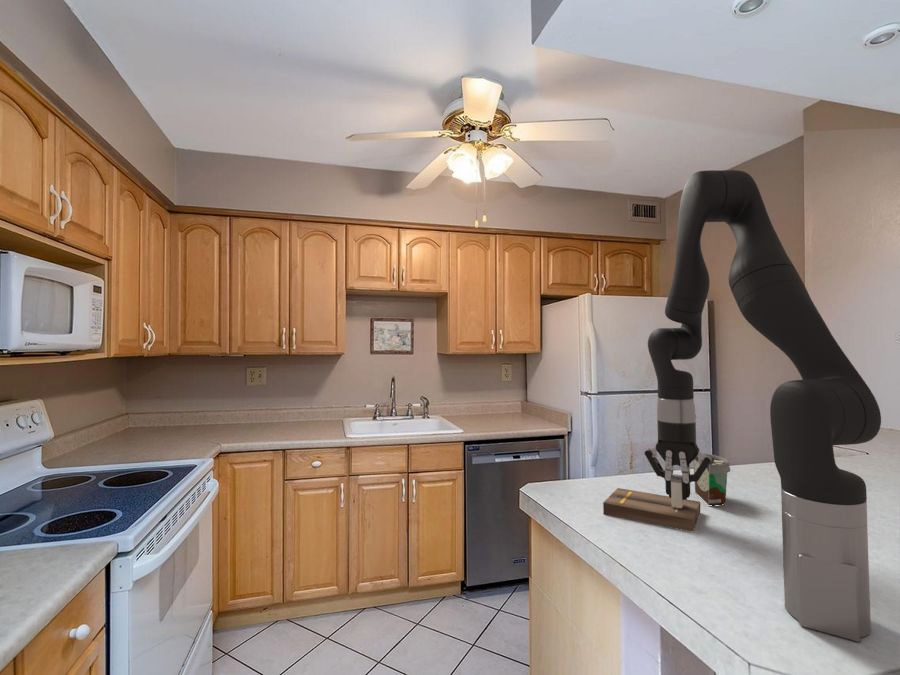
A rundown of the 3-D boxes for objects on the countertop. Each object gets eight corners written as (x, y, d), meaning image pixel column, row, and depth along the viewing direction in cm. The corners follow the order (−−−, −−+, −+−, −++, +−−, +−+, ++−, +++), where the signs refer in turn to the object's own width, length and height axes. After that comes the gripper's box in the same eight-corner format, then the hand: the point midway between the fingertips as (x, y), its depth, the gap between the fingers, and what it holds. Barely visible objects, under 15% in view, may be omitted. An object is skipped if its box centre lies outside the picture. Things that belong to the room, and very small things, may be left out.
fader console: (693, 532, 90) (692, 519, 90) (603, 513, 101) (603, 502, 101) (700, 512, 100) (700, 501, 100) (618, 498, 111) (617, 487, 111)
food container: (740, 510, 101) (739, 466, 101) (711, 508, 102) (710, 465, 103) (719, 492, 113) (718, 452, 113) (693, 491, 114) (692, 452, 115)
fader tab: (682, 508, 95) (681, 480, 95) (671, 506, 96) (670, 478, 96) (685, 502, 98) (684, 475, 98) (674, 500, 100) (673, 474, 100)
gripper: (638, 418, 98) (640, 497, 98) (710, 424, 90) (713, 509, 90) (646, 413, 105) (648, 487, 104) (714, 418, 97) (716, 498, 96)
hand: (678, 497), depth 97 cm, fingers closed on fader tab, 2 cm apart
